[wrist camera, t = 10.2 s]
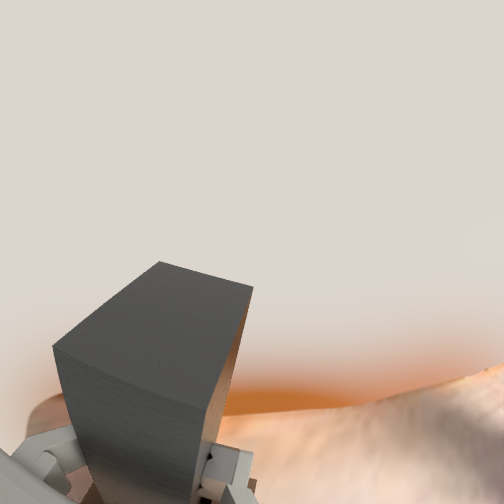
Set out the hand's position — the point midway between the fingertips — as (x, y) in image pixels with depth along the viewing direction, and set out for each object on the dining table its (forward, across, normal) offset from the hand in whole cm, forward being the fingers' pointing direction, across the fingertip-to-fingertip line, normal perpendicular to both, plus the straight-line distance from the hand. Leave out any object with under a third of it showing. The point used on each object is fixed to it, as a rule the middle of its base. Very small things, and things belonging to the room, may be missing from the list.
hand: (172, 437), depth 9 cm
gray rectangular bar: (-1, 0, +10) cm, 10 cm away
